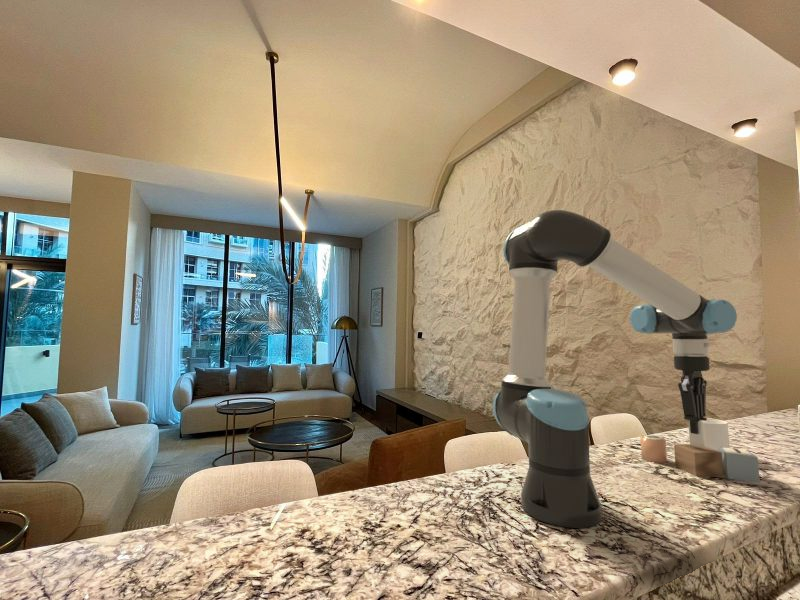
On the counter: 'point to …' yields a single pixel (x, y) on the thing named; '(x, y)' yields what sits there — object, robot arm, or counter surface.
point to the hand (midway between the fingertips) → (697, 445)
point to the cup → (715, 434)
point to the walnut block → (698, 460)
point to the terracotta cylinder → (653, 449)
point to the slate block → (740, 464)
